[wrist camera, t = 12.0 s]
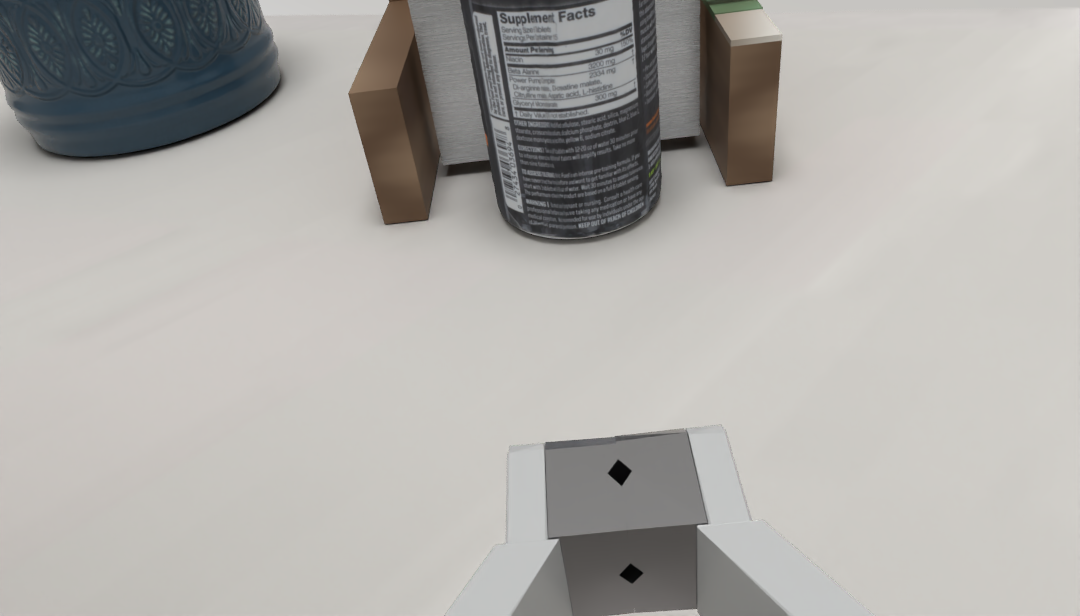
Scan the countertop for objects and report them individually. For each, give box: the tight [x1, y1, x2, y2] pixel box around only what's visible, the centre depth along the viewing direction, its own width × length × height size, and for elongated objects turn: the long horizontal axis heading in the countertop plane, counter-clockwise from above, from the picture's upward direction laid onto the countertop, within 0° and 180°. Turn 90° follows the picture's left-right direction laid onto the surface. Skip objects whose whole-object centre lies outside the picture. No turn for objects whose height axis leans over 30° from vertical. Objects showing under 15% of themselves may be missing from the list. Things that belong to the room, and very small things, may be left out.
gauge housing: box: [348, 0, 782, 224], centre depth 31 cm, size 14×14×10 cm
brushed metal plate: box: [408, 0, 700, 165], centre depth 28 cm, size 12×1×8 cm, turn 91°
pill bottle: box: [460, 0, 662, 239], centre depth 25 cm, size 6×6×11 cm
